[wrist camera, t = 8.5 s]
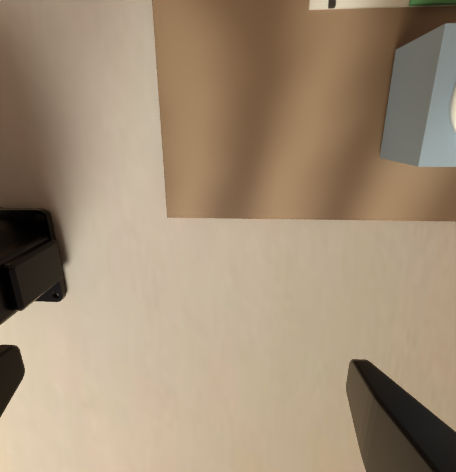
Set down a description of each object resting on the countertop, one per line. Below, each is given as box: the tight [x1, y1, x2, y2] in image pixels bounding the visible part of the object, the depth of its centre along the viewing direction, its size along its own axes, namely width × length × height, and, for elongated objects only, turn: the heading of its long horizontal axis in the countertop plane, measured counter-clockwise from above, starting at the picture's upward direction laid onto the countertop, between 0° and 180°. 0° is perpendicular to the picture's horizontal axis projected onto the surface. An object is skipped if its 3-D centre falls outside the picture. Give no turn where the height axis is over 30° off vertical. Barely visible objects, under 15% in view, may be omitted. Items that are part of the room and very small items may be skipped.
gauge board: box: [152, 0, 456, 221], centre depth 14 cm, size 22×14×6 cm, turn 90°
